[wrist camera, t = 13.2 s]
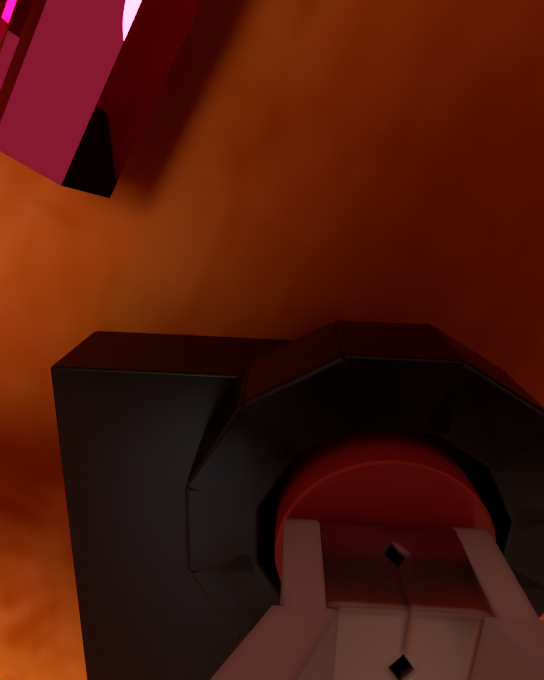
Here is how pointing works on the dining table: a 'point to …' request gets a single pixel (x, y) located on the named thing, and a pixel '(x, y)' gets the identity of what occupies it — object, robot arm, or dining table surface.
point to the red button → (379, 485)
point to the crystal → (84, 82)
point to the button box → (255, 470)
